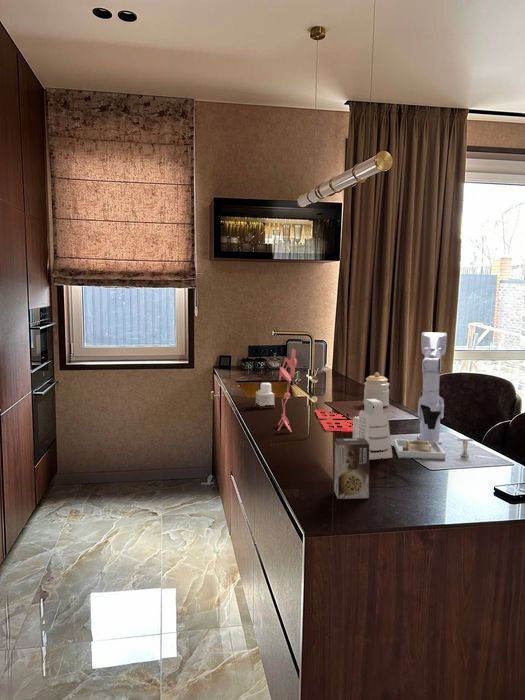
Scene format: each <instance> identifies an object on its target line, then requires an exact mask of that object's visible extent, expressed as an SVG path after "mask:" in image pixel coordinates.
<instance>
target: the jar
mask: <svg viewBox="0 0 525 700" xmlns="http://www.w3.org/2000/svg"><path fill="white" fill-rule="evenodd" d="M365 380H366V381H365V382H364V383H363V385H364V388H363V390H364V391H363V403H364V402H365V400H366V399H377V400H379V401H382V403H383V406H386V405H388V404H390V400H389V399H390V396H389V395H390V389H389V386H390V383H389V382H388V380H389V378H387V377H385V376H384V375H380V373H379V372H377V371H376V372H374V375H369V376H367V377H366V378H365ZM388 406H389V405H388Z"/></svg>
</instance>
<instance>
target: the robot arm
mask: <svg viewBox="0 0 525 700" xmlns="http://www.w3.org/2000/svg"><path fill="white" fill-rule="evenodd" d="M447 336H448V334H447V332H426V331H423V332H421V338H420V339H421V340H420V343H421V344H420V346H421V354H423V355H424V357H423V358H422V364H421V365H422V366H421V367H422V368H421V371H422V395H421V396H419V398H418V402H417V416H418V417H419V418H420V426H419V429H420V430H419V434H418V435H417V438H418V440H419V439H420V440H423V441H437V442H438V443H439V444H442V443H443V442H442V440H441V439H440V431H441V430H440V428H441V420H442V419H444V413H445V404H444V403H445V399H444V398H443V397H442V396H440V379H441V377H440V374H441V372H442V356H444V355H445V354H446V352H447V343H448V342H447V341H448V340H447V338H448V337H447Z"/></svg>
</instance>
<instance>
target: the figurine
mask: <svg viewBox="0 0 525 700" xmlns="http://www.w3.org/2000/svg"><path fill="white" fill-rule="evenodd" d="M296 352H297V351H296V349H294V348H291V353H290V354H291V356H290V357H291V358H290V359H289V358H287V357H286V356H285V357H284V361H283V365H282V366H279V376H278V377H279V379H278V381H279V382H280V381H281V380H282V378H283V379H285V380H286V381H287V382H288V388H287V392H284V395H283V396H284V397H283V398H282V399H281V405H282V412H283V413H281V419H280V420H279V422H278V423H277V425H279V426H278V429H277V431H280V430H281V428H282V426H283V424H284V425H285V426H286V428H287V429H288V430H289V432H290V433H291V432H292V433H293V431H292V429H291V426H290V422H289V419H288V417H287V415H286V403H287V401H288V399H290V398H291V394H290V386H291V382H292V378H294V377H295V371H296V370H295V368H297V364H298V360H297V358H296ZM286 363H287V365H286ZM285 365H286V366H285ZM284 367H285V368H284ZM288 367H289V368H290V369H289V371H290V373H289V372H288V371H287V369H288ZM284 399H286V400H285V401H284ZM288 424H289V425H288Z"/></svg>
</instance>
